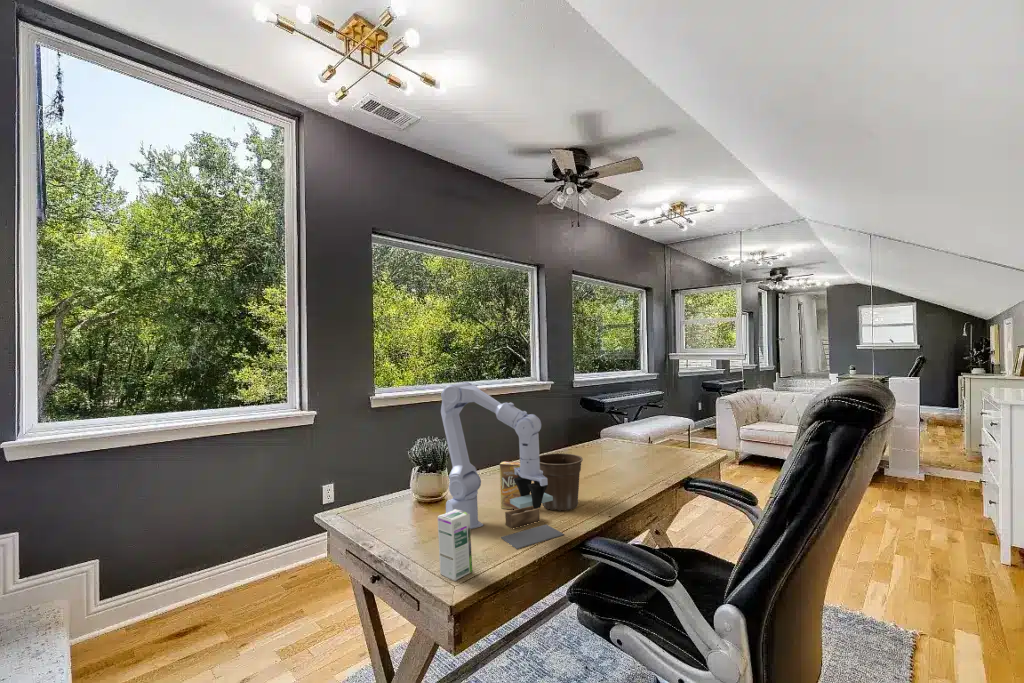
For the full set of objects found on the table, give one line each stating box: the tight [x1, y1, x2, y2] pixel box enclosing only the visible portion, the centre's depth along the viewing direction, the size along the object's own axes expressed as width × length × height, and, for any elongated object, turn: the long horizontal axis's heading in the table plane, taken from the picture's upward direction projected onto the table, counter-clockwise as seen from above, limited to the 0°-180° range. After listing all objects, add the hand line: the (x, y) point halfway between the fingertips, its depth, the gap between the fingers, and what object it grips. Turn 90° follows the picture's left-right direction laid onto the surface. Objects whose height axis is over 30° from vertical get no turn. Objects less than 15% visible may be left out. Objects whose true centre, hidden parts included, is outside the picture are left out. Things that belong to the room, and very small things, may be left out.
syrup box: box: [437, 509, 473, 582], centre depth 112 cm, size 6×6×14 cm
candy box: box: [499, 460, 521, 510], centre depth 155 cm, size 9×4×15 cm, turn 68°
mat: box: [500, 524, 565, 550], centre depth 131 cm, size 16×9×1 cm, turn 121°
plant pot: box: [539, 452, 583, 512], centre depth 156 cm, size 16×16×16 cm
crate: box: [504, 506, 541, 530], centre depth 141 cm, size 10×4×4 cm, turn 121°
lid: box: [510, 493, 553, 509], centre depth 131 cm, size 11×5×1 cm, turn 121°
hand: (531, 504), depth 131 cm, fingers closed on lid, 5 cm apart
